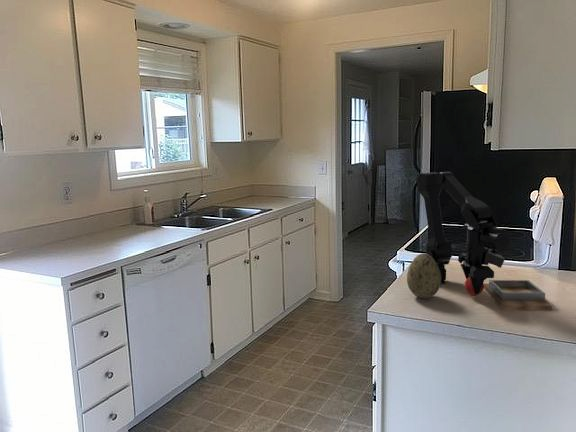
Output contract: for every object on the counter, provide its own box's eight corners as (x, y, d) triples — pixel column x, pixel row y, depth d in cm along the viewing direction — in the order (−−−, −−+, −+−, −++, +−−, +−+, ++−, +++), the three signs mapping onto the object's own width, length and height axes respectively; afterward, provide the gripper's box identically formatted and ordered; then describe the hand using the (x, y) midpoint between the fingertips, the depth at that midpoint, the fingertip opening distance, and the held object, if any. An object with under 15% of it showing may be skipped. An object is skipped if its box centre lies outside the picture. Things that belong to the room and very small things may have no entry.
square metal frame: (502, 300, 146) (502, 293, 145) (489, 287, 158) (489, 280, 157) (544, 301, 144) (545, 293, 144) (528, 287, 157) (528, 280, 156)
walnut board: (503, 309, 142) (503, 305, 142) (483, 287, 162) (483, 283, 162) (552, 310, 141) (552, 305, 141) (525, 287, 160) (525, 283, 160)
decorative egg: (401, 299, 153) (402, 255, 150) (413, 289, 162) (414, 247, 159) (434, 306, 147) (435, 259, 144) (444, 295, 156) (446, 251, 153)
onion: (467, 292, 157) (468, 269, 155) (485, 295, 153) (486, 272, 151) (461, 297, 152) (462, 273, 151) (479, 301, 149) (481, 276, 147)
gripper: (513, 251, 139) (510, 301, 142) (492, 237, 158) (490, 281, 160) (474, 251, 140) (472, 301, 143) (458, 237, 159) (456, 281, 162)
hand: (473, 290), depth 152 cm, fingers closed on onion, 6 cm apart
